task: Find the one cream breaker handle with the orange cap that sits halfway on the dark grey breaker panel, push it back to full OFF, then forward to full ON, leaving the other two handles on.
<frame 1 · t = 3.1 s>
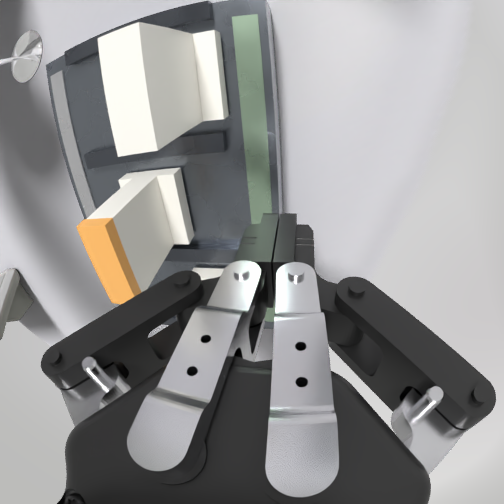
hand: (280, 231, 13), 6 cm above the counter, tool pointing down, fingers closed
breaker handle tripped: (137, 231, 14), point 6 cm above the counter, slide at 3.0 cm
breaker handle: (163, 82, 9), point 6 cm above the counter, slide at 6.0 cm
wineglass: (26, 56, 13), on the counter
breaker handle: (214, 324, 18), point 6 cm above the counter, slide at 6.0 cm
digital clock: (11, 284, 33), on the counter
breaker panel: (179, 183, 19), on the counter
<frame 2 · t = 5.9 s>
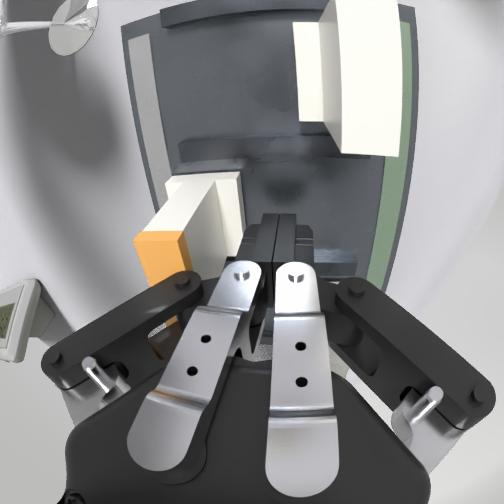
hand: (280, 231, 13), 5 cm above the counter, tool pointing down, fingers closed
breaker handle tripped: (194, 244, 13), point 6 cm above the counter, slide at -0.5 cm, touching gripper
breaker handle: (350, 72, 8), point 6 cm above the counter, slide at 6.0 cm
wineglass: (72, 24, 11), on the counter
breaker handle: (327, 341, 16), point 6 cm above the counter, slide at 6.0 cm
digital clock: (27, 294, 31), on the counter
breaker panel: (280, 186, 17), on the counter
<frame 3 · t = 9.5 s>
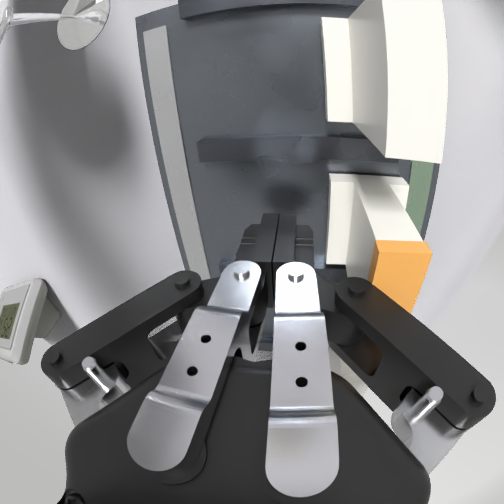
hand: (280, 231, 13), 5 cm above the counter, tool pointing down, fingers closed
breaker handle tripped: (375, 253, 11), point 6 cm above the counter, slide at 6.2 cm, touching gripper, hand
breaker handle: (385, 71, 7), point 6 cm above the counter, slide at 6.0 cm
wineglass: (83, 17, 11), on the counter
digital clock: (32, 293, 31), on the counter
breaker panel: (300, 189, 16), on the counter
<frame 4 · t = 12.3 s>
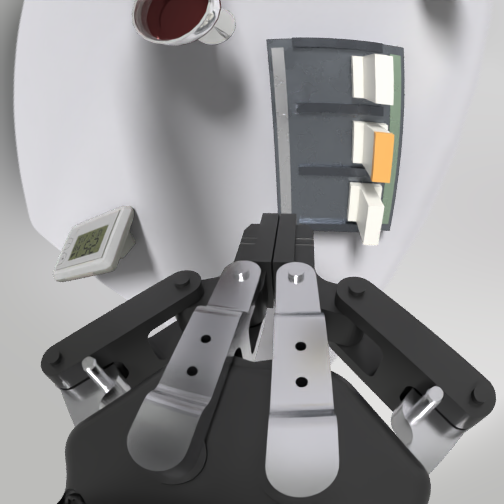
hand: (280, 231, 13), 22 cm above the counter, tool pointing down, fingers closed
breaker handle tripped: (375, 149, 24), point 6 cm above the counter, slide at 6.1 cm
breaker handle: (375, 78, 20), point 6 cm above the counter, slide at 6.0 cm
wineglass: (214, 25, 24), on the counter
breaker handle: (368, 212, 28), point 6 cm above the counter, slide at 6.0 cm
digital clock: (107, 227, 43), on the counter
breaker panel: (336, 133, 29), on the counter
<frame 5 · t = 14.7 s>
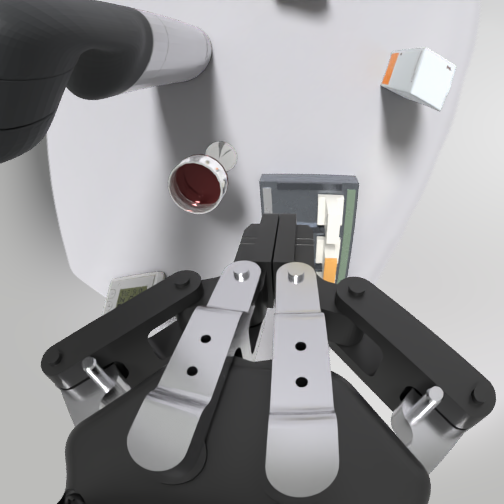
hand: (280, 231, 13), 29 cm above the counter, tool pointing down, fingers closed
breaker handle tripped: (328, 260, 41), point 6 cm above the counter, slide at 6.1 cm
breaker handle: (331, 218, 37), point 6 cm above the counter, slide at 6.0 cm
skincare box: (398, 74, 29), on the counter
wineglass: (221, 156, 41), on the counter
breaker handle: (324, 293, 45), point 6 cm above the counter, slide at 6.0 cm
digital clock: (142, 281, 60), on the counter
breaker panel: (308, 236, 47), on the counter
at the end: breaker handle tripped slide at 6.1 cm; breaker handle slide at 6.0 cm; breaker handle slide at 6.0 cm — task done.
